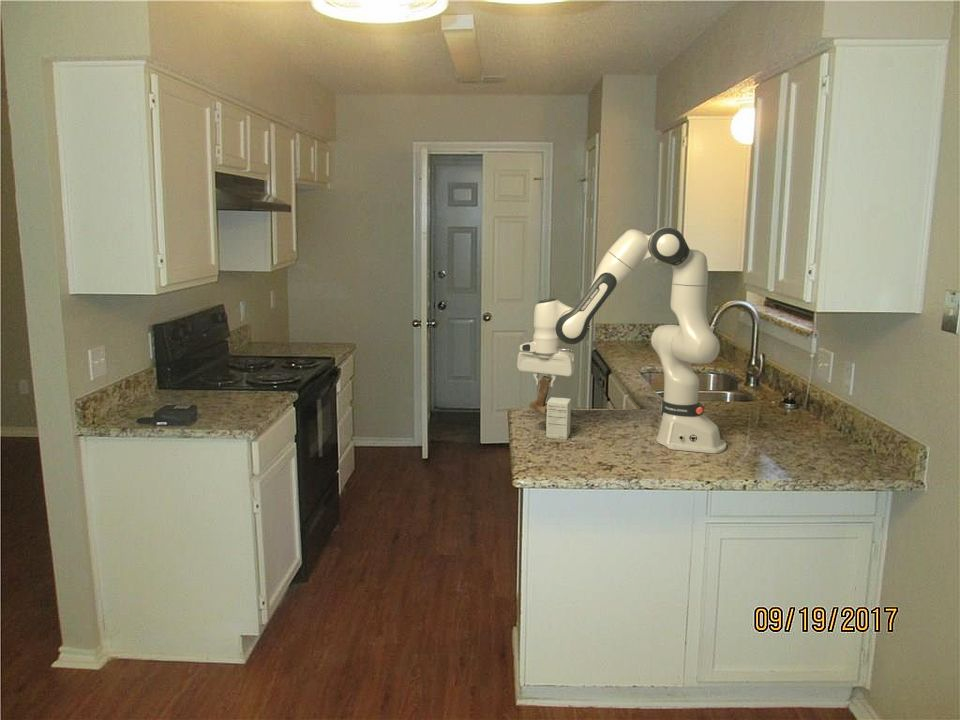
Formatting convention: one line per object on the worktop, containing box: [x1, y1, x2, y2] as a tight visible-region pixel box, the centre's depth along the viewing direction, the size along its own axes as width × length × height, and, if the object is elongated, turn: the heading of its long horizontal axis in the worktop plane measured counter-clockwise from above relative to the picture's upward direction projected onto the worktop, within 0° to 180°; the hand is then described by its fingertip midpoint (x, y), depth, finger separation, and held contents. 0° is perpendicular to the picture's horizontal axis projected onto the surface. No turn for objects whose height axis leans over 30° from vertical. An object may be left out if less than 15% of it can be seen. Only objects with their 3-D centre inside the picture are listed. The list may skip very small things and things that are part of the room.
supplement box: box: [545, 396, 572, 440], centre depth 256 cm, size 7×7×13 cm
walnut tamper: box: [528, 375, 552, 414], centre depth 257 cm, size 6×6×12 cm
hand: (545, 386), depth 256 cm, fingers closed on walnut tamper, 3 cm apart
